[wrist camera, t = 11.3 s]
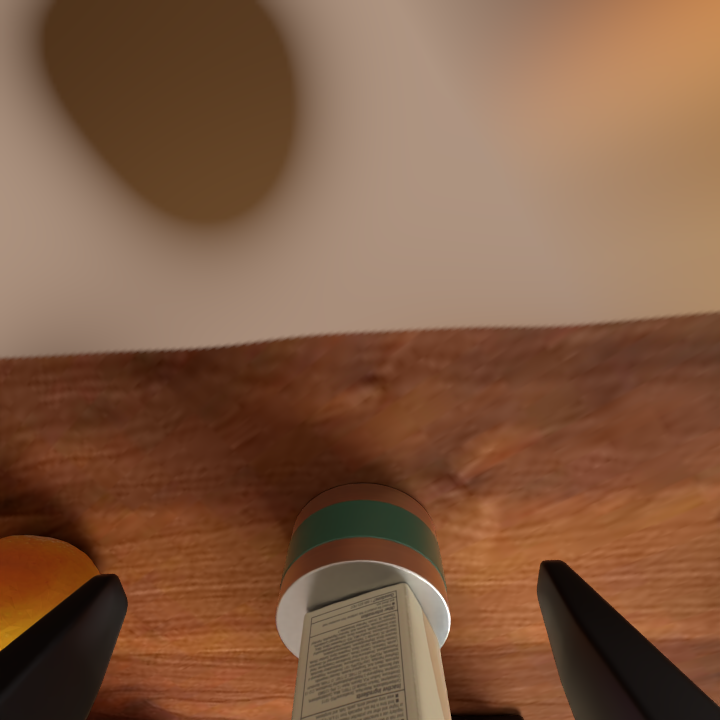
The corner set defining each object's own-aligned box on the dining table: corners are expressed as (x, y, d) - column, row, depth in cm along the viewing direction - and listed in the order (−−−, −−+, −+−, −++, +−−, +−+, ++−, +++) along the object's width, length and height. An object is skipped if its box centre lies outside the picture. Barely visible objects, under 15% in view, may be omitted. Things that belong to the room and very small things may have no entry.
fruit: (126, 689, 24) (-48, 812, 17) (29, 637, 28) (-155, 722, 20) (151, 537, 25) (-9, 593, 18) (52, 503, 28) (-119, 538, 21)
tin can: (436, 588, 26) (450, 678, 21) (300, 592, 26) (286, 681, 22) (436, 478, 23) (454, 557, 18) (282, 484, 23) (261, 563, 18)
